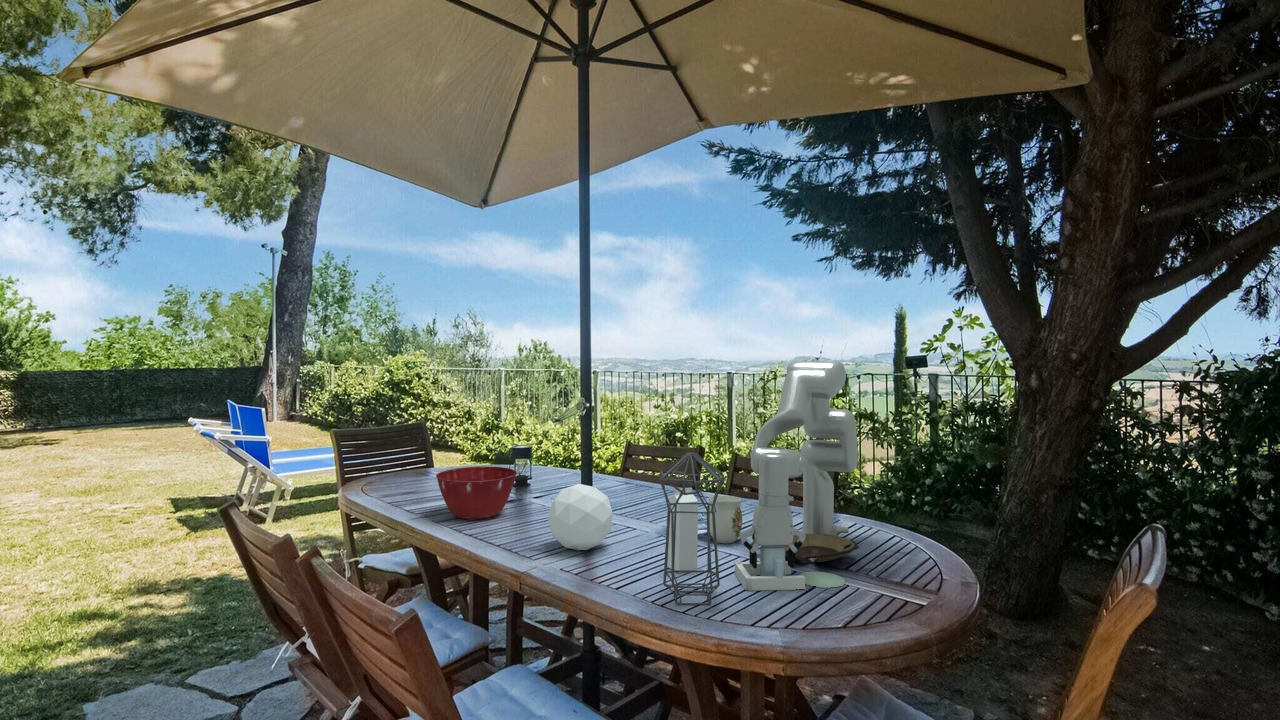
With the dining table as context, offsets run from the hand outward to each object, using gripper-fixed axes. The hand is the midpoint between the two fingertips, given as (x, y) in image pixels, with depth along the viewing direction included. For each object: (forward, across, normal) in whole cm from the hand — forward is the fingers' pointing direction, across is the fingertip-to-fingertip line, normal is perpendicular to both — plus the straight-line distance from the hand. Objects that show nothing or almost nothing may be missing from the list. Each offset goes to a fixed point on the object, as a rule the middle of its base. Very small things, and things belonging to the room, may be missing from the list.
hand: (772, 566), depth 170 cm
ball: (+4, +50, -32) cm, 59 cm away
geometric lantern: (+4, +23, +10) cm, 25 cm away
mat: (+4, -13, 0) cm, 14 cm away
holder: (+4, +1, 0) cm, 4 cm away
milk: (+4, +22, -11) cm, 25 cm away
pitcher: (+4, +4, -39) cm, 40 cm away
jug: (+4, 0, +1) cm, 4 cm away
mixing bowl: (+4, +88, -74) cm, 115 cm away
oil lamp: (+4, -15, -20) cm, 26 cm away
